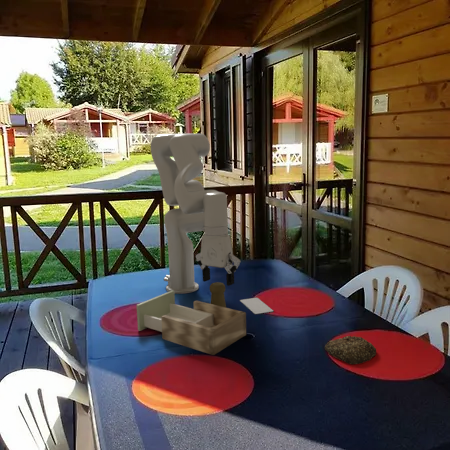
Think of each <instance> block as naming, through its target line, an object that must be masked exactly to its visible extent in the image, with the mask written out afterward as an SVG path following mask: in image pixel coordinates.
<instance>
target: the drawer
mask: <svg viewBox="0 0 450 450" xmlns="http://www.w3.org/2000/svg"><path fill="white" fill-rule="evenodd" d="M175 294H176V293H174V291H173V290H172V291H169V292H168V291H166V292H165V293H162V294H159V295H157V296H154V297H152V298H150V299H148V300H144V301H143V302H141V303H137V304H136V317H137V318H136V319H137V331H139V332H140V331H144V330H145V329H147V328H148V329H151V330H155V331H157V332H161V333H162V319H161V316H164V315H167V316H170V317H174V318H177V319H181V320H184V321H188V322H192V323H195V324H199V325H202V326H206V327H212V326H214V316H213V314H211V313H207V312H204V311H200V310H196V309H194V308H191V307H188V306H183V305H180V304H176V301H175V300H176V299H175V298H176V297H175Z"/></svg>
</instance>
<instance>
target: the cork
mask: <svg viewBox="0 0 450 450" xmlns="http://www.w3.org/2000/svg"><path fill="white" fill-rule="evenodd" d="M209 292H210V303H209V304H213V305H217V306H221V307H225V308H227V305H226V300H225V299H226V298H225V292H226V285H225V284H224V282H219V281H217V282H212V283H211V284H210V285H209Z"/></svg>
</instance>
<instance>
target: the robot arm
mask: <svg viewBox="0 0 450 450" xmlns="http://www.w3.org/2000/svg"><path fill="white" fill-rule="evenodd" d="M209 141H210V140H209V139H208V137H207V136H206V134H204V133H163V134H158V135H154V137H152V139H151V141H150V154H151V158H152V160H153V162H154V165H155V167H156V169H157V171H158V174H159V180H160V185H161V189H162V195H163V199H164V202H165V204H166V205H168V206H171V207H178V206H179V208H172V209H170V210H168V211H167V212H166V213H165V215H164V217H163V219H164V226H165V231H166V238H167V250H168V268H169V269H168V272H169V274H166V275H165V277H164V278H163V282H167V285H166V287H165V290H166V292H169V291H172V290H173V291H174V293H175V294H178V295H180V294H182V295H183V294H190V293H193V292H196V291H197V290H199V284H198V283H197V282H195V264H194V263H195V262H194V259H195V258H196V261H197V264H198V265H199V266H200V269H201V270H202V282H207V281H209V280H211V269H210V267H212V268H219V269H225V270H226V272H227V273H226V274H225V275H226V286H227V287H230V286H232V285H234V284H235V272H236V271H237V270H238V269H239V266H240V263H241V259H239V258H238V257H237V256H236V255H234V254H233V246H232V240H231V236H230V234H229V225H228V224H229V222H228V220H229V218H228V197H227V194H226V193H225V192H224V191H223V192H222V191H218V190H216V189H205V188H204V187H205V186H203V184H202V182H201V181H199V180H197V179H195V178H197V177H198V176H200V175H201V174H202V172H203V170H204V165H203V162H202V159H201V158H202V157H207V156H208V155H209V152H210V150H211V145H210V142H209ZM171 157H173V158H171ZM203 231H204V234H203V235H202V237H201V242H200V243H201V245H200V246H201V247H200V252H198V253H197V254H196V255H195V258H194V242H193V241H192V240H191V239H190V237H189V236H188V235H187V234H188V233H194V232H203Z"/></svg>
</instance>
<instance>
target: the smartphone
mask: <svg viewBox="0 0 450 450" xmlns="http://www.w3.org/2000/svg"><path fill="white" fill-rule="evenodd" d="M239 302H241V303H242V305H243V306H244V307H246V308H247V309H248V310H249V311H251V312H252V314H254V315H263V313H264V314H269V312H270V313H274V312H275V311H274V309H272V308H271V307H270V306H269V305H267V304H266V303H265V302H264V301H262V300H261V299H260V298H259V297H252V298H244V299H239Z"/></svg>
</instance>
